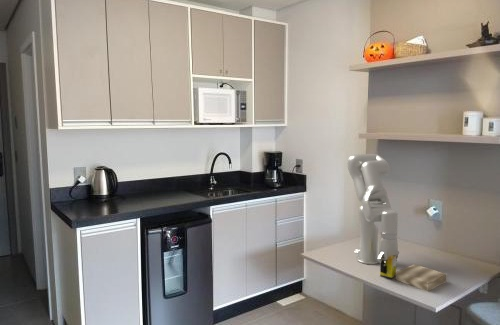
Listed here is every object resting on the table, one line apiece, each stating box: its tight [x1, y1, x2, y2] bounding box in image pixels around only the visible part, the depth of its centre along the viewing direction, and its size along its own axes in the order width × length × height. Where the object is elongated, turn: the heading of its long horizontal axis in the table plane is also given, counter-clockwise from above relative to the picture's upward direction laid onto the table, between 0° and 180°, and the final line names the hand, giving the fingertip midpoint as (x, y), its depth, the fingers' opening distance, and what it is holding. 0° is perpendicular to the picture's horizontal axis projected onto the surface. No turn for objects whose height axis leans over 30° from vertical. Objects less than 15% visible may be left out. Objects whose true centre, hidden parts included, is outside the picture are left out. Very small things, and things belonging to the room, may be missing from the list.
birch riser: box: [395, 264, 447, 292], centre depth 181 cm, size 16×16×4 cm
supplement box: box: [379, 255, 397, 280], centre depth 187 cm, size 6×6×11 cm
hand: (388, 270), depth 187 cm, fingers closed on supplement box, 6 cm apart
